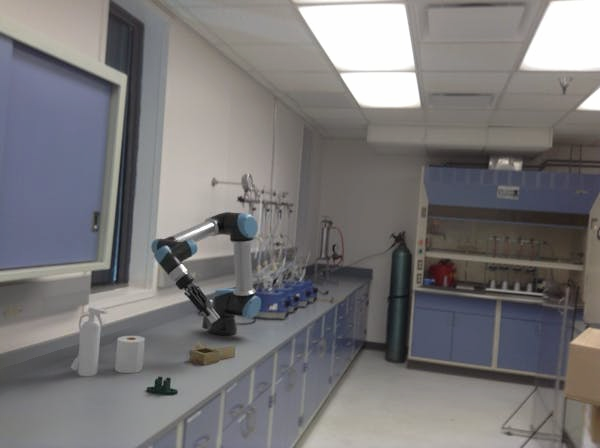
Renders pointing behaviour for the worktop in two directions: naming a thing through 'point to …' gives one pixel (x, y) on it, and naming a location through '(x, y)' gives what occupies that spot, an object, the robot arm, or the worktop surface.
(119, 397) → the worktop surface
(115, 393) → the worktop surface
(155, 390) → the mount
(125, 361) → the toilet paper
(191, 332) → the worktop surface
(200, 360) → the tan piece
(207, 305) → the hinge pin
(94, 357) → the fire extinguisher
